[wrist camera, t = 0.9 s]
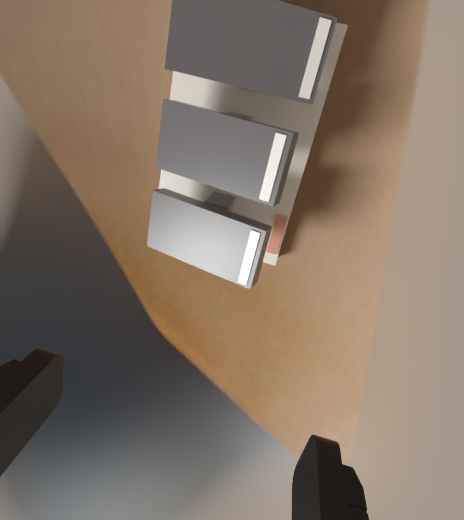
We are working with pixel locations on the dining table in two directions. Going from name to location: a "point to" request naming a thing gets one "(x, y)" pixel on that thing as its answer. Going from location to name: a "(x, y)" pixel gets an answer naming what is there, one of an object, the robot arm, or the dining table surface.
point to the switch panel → (263, 111)
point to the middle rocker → (225, 151)
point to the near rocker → (251, 45)
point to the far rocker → (208, 237)
